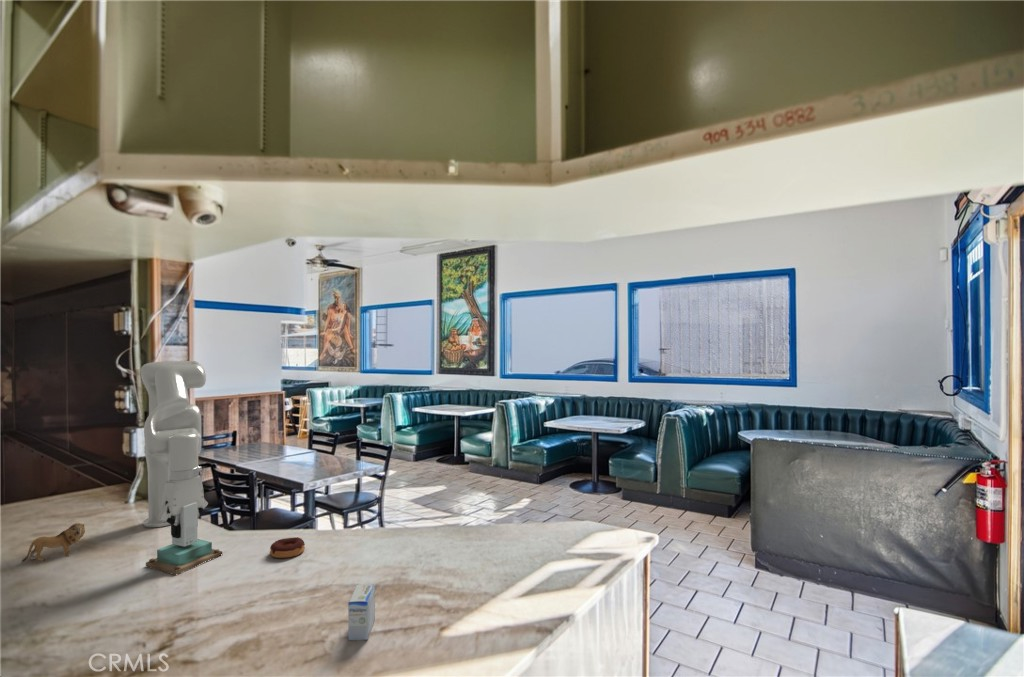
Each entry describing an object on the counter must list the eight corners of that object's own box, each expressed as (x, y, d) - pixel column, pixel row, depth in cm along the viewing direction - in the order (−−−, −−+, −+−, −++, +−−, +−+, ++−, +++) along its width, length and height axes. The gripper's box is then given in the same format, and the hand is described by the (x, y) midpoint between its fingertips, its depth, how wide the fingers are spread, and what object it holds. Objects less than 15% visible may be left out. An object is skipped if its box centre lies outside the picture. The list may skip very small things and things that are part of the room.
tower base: (193, 547, 159) (192, 533, 159) (222, 555, 154) (222, 540, 154) (145, 566, 147) (145, 551, 147) (176, 575, 141) (175, 559, 141)
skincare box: (198, 541, 151) (197, 502, 151) (183, 547, 147) (183, 507, 147) (185, 538, 153) (185, 499, 153) (171, 543, 150) (170, 504, 149)
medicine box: (356, 620, 117) (355, 584, 117) (375, 619, 118) (375, 583, 118) (348, 641, 109) (347, 602, 109) (368, 640, 110) (368, 601, 110)
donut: (311, 547, 159) (310, 535, 159) (294, 561, 150) (294, 548, 150) (281, 546, 160) (281, 534, 160) (263, 560, 151) (262, 547, 150)
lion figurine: (85, 547, 161) (85, 519, 161) (85, 552, 157) (84, 524, 157) (22, 560, 151) (21, 531, 151) (19, 566, 147) (19, 536, 147)
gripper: (202, 466, 159) (203, 522, 159) (146, 480, 144) (147, 543, 144) (218, 468, 156) (219, 526, 156) (162, 483, 141) (163, 547, 141)
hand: (184, 533), depth 150 cm, fingers closed on skincare box, 4 cm apart
